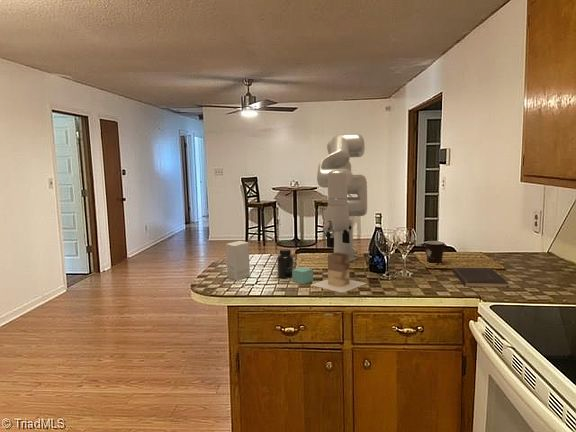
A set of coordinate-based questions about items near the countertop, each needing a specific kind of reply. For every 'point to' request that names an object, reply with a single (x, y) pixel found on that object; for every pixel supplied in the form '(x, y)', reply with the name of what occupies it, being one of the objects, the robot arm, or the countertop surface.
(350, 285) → the plate
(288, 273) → the supplement bottle
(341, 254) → the walnut cube
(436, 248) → the coffee mug
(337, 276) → the oak cube
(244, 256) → the skincare box
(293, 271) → the teal cube
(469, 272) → the hardcover book
